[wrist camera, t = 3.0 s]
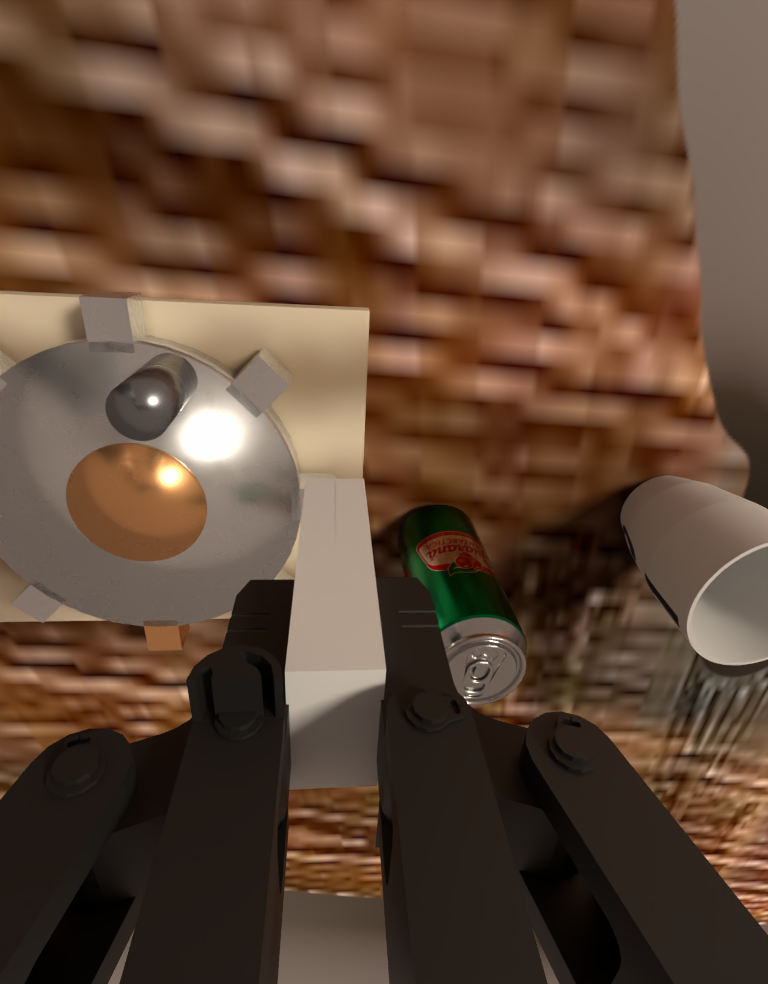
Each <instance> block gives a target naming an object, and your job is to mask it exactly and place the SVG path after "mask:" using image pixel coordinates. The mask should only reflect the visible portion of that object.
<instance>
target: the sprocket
mask: <svg viewBox="0 0 768 984" xmlns="http://www.w3.org/2000/svg"><path fill="white" fill-rule="evenodd" d="M79 300H80V305H81V310H82V315H83V320H84V325H85V330H86V336H83V337H78V338H75V339H72V340H68V341H65V342H62V343H59V344H56V345H54V346H52V347H50V348H48V349H46V350H44V351H41V352H39V353H37V354H35V355H33V356H31V357H29V358H27V359H25V360H23V361H21V362H19V363H16V362H15V361H14V360H12V359H11V358H10V357H9V356H7V355H6V354H5V353H3V352H2V351H1V350H0V557H1V558H2V560H3V561H4V562H5V563H6V564H7V565H8V566H9V567H10V568H11V569H12V570H13V571H14V572H16V573H17V574H18V575H19V576H20V577H22V578H23V579H24V580H25V581H27V582H28V584H27V586H26V587H25V588H24V589H23V590H22V592H21V593H20V594H19V595H18V596H17V598H16V599H15V600H14V601H13V603H12V604H11V605H13V606H14V607H16V608H18V609H20V610H21V611H23V612H25V613H26V614H28V615H30V616H32V617H33V618H35V619H37V620H38V621H40V622H42V623H44V622H45V621H46V620H47V619H48V618H49V617H50V616H51V615H52V614H53V613H54V612H55V611H56V610H57V609H58V608H59V607H60V606H61V605H62V604H63V605H66V606H68V607H70V608H73V609H75V610H77V611H80V612H82V613H85V614H88V615H91V616H94V617H97V618H100V619H104V620H108V621H113V622H117V623H122V624H129V625H137V626H144V629H145V634H146V639H147V644H148V649H149V651H153V650H182V649H183V646H184V643H185V640H186V637H187V634H188V631H189V628H190V627H189V624H192V623H198V622H202V621H205V620H209V619H212V618H216V617H218V616H221V615H223V614H226V613H228V612H231V611H232V610H233V606H234V602H235V598H236V595H237V594H238V593H239V592H240V591H241V590H242V589H243V587H244V586H245V585H246V584H247V583H248V582H249V581H250V580H295V579H294V578H293V577H292V576H290V575H289V574H288V573H286V572H285V571H284V570H283V569H282V568H283V566H284V565H285V563H286V561H287V559H288V558H289V556H290V554H291V551H292V549H293V546H294V543H295V541H296V538H297V533H298V529H299V524H300V521H301V518H302V509H303V500H304V490H305V481H306V478H332V479H336V473H301V469H300V465H299V461H298V456H297V453H296V450H295V448H294V445H293V443H292V440H291V437H290V435H289V433H288V432H287V430H286V428H285V426H284V424H283V423H282V421H281V419H280V418H279V416H278V415H277V413H276V412H275V411H274V409H273V408H272V407H271V404H272V403H273V402H274V401H275V400H276V399H277V398H278V397H279V396H280V395H281V394H282V393H283V392H284V391H285V390H286V389H287V388H288V387H289V386H290V383H291V379H292V374H291V373H290V372H289V371H287V370H286V369H285V368H284V367H283V366H282V365H281V364H280V363H279V362H278V361H277V360H276V359H275V358H274V357H273V356H272V355H271V354H270V353H269V352H268V351H267V350H266V349H265V348H264V347H263V348H262V349H261V350H260V351H259V352H258V353H257V354H256V355H255V356H254V357H253V358H252V359H251V360H250V361H249V362H248V363H247V364H246V365H245V366H244V367H243V368H242V369H241V370H240V371H239V372H238V373H237V372H235V371H234V370H232V369H231V368H229V367H228V366H226V365H225V364H223V363H222V362H220V361H218V360H217V359H215V358H213V357H211V356H209V355H207V354H205V353H203V352H201V351H199V350H197V349H195V348H192V347H189V346H186V345H184V344H181V343H178V342H175V341H172V340H168V339H163V338H159V337H155V336H150V335H147V332H146V326H145V319H144V312H143V305H142V298H141V293H133V292H112V291H94V292H91V293H88V294H85V295H82V296H79Z"/></svg>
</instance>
